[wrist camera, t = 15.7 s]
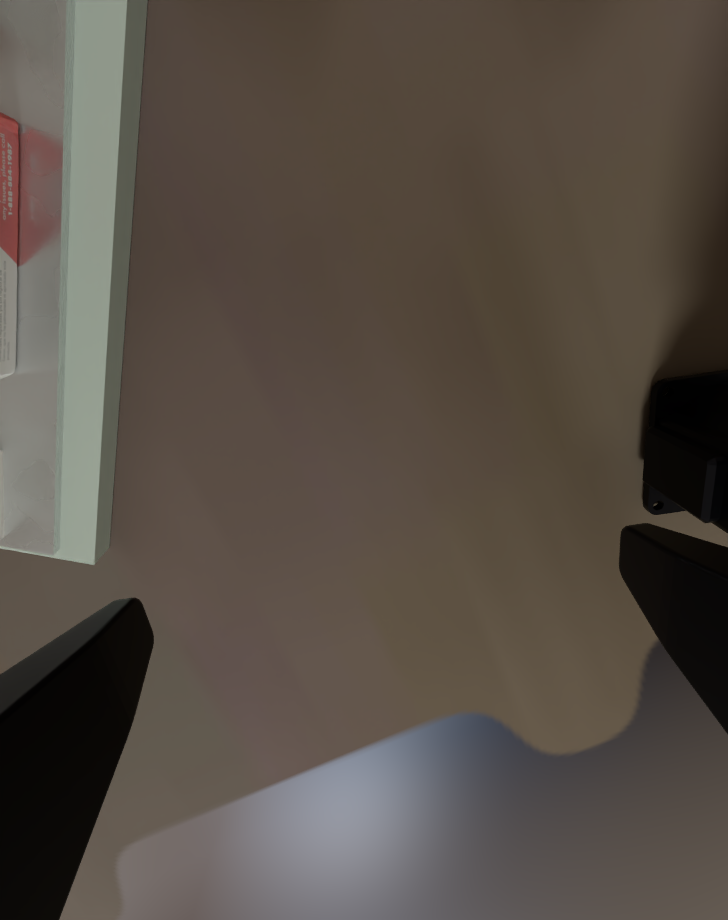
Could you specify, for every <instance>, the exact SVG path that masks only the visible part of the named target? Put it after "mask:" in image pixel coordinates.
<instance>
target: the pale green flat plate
mask: <svg viewBox="0 0 728 920" xmlns="http://www.w3.org/2000/svg"><path fill="white" fill-rule="evenodd" d="M75 5H76V0H0V112H1V113H3V114H5V115H7V116H9V117H11V118H13V119H15V120H16V121H17V122H18V141H19V161H18V164H19V179H18V225H17V226H18V247H17V328H16V367H15V372H14V373H13V374H11V375H9V376H7V377H5V378H2V379H0V450H2V451H3V482H4V537H3V538H2V539H1V540H0V546H3V547H9V548H15V549H20V550H26V551H31V552H37V553H43V554H48V555H54V554H55V553H56V552H57V551H58V550H60V523H61V488H62V454H63V419H64V385H65V350H66V316H67V281H68V246H69V212H70V177H71V143H72V108H73V74H74V39H75Z"/></svg>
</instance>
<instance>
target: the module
mask: <svg viewBox="0 0 728 920" xmlns="http://www.w3.org/2000/svg"><path fill="white" fill-rule="evenodd" d="M3 537H4V482H3V451H2V450H0V540H1V539H2V538H3Z"/></svg>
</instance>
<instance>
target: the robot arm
mask: <svg viewBox="0 0 728 920" xmlns="http://www.w3.org/2000/svg"><path fill="white" fill-rule="evenodd" d="M666 387H668V389H669V390H668V392H667V394H666V395H664V396H663V394H662V393H663V390H664V389H665V388H666ZM643 481H644V482H645V484H644V497H643V506H644V508H645V509H646V510H647V511H648V512H650V513H651V514H653V515H660V514H667V513H673V512H680V511H688V512H689V513H690V514H692V515H693V516H695V517H696V518H698V519H699V520H701V521H702V522H704V523H713V524H714V525H716V526H717V527H719V528H720V529H722V530H723V531H725V532H726V533H728V370H722V371H715V372H708V373H702V374H695V375H688V376H681V377H675V378H668V379H663V380H660V381H658V382H657V383H655V385H654V386H653V388H652V391H651V403H650V417H649V428H648V430H647V432H646V441H645V455H644V469H643ZM656 501H659V502H658V504H657V505H656V506H653V505H654V503H655V502H656ZM619 569H620V573H621V576H622V578H623V580H624V581H625V583H626V585H627V587H628V588H629V590H630V592H631V593H632V595H633V597H634V598H635V600H636V602H637V603H638V605H639V607H640V609H641V610H642V612H643V614H644V615H645V617H646V619H647V620H648V622H649V624H650V625H651V627H652V629H653V630H654V632H655V634H656V636H657V637H658V639H659V640H660V642H661V644H662V645H663V646H664V648H665V650H666V651H667V653H668V654H669V655H670V657H671V658H672V660H673V661H674V662H675V664H676V665H677V666H678V668H679V669H680V671H681V672H682V673H683V675H684V676H685V677H686V679H687V680H688V681H689V683H690V684H691V685H692V687H693V688H694V689H695V691H696V692H697V693H698V695H699V696H700V697H701V699H702V700H703V702H704V703H705V704H706V706H707V707H708V708H709V710H710V711H711V712H712V714H713V715H714V716H715V718H716V719H717V720H718V722H719V723H720V724H721V726H722V727H723V729H724V730H725V731H726V733H727V734H728V547H725V546H721V545H718V544H715V543H711V542H708V541H705V540H701V539H698V538H695V537H692V536H688V535H685V534H682V533H678V532H675V531H672V530H668V529H665V528H662V527H658V526H655V525H652V524H648V523H642V524H635V525H629V526H625V527H624V528H623V529H622V531H621V537H620V555H619ZM153 644H154V636H153V631H152V628H151V626H150V623H149V620H148V618H147V615H146V612H145V610H144V607H143V605H142V603H141V601H140V600H139V599H137V598H127V599H120V600H116V601H113V602H111V603H110V604H108V605H107V606H105V607H104V608H102V609H101V610H99V611H97V612H96V613H94V614H93V615H91V616H90V617H88V618H87V619H85V620H84V621H82V622H80V623H79V624H77V625H76V626H74V627H73V628H71V629H70V630H68V631H67V632H65V633H64V634H62V635H60V636H59V637H57V638H56V639H54V640H53V641H51V642H50V643H48V644H47V645H45V646H43V647H42V648H40V649H39V650H37V651H36V652H34V653H33V654H31V655H30V656H28V657H27V658H25V659H23V660H22V661H20V662H19V663H17V664H16V665H14V666H13V667H11V668H10V669H8V670H7V671H5V672H3V673H2V674H0V920H59V919H60V916H61V913H62V911H63V908H64V906H65V903H66V900H67V898H68V895H69V892H70V890H71V887H72V884H73V882H74V879H75V876H76V874H77V871H78V868H79V866H80V863H81V860H82V858H83V855H84V852H85V850H86V847H87V844H88V842H89V839H90V836H91V834H92V831H93V828H94V826H95V823H96V820H97V818H98V815H99V812H100V810H101V807H102V804H103V802H104V799H105V796H106V794H107V791H108V788H109V786H110V783H111V780H112V778H113V775H114V772H115V770H116V767H117V764H118V762H119V759H120V756H121V754H122V751H123V748H124V746H125V743H126V740H127V738H128V735H129V732H130V729H131V726H132V723H133V720H134V716H135V713H136V709H137V706H138V702H139V698H140V694H141V691H142V687H143V683H144V679H145V675H146V672H147V668H148V664H149V660H150V656H151V653H152V649H153Z"/></svg>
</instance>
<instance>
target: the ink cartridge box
mask: <svg viewBox="0 0 728 920" xmlns="http://www.w3.org/2000/svg"><path fill="white" fill-rule="evenodd" d="M18 161H19V141H18V122H17V121H16V120H15V119H13V118H11V117H9V116H7V115H5V114H3V113H1V112H0V379H2V378H5V377H7V376H9V375H11V374H13V373H14V372H15V367H16V328H17V247H18V226H17V225H18V179H19V164H18Z"/></svg>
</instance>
